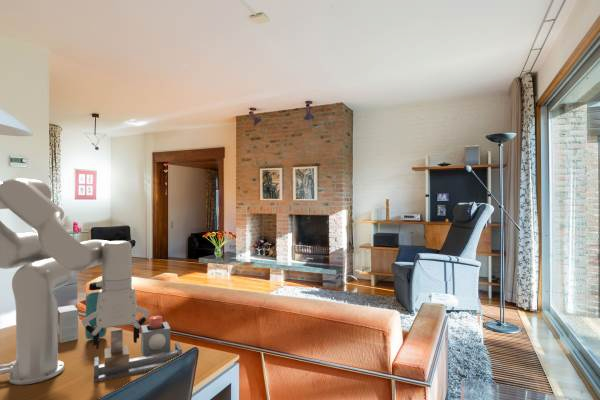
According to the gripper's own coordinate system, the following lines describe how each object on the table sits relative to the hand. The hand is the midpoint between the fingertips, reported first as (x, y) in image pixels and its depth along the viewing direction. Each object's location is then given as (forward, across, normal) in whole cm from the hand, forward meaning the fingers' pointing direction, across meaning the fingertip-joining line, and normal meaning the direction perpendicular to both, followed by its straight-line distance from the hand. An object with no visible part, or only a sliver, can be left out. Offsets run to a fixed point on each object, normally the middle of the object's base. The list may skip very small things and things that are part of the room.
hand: (116, 344), depth 102 cm
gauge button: (0, +12, +9) cm, 15 cm away
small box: (+8, -14, +36) cm, 40 cm away
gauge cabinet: (+8, +12, +9) cm, 17 cm away
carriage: (+5, 0, 0) cm, 5 cm away
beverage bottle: (+8, -6, +29) cm, 31 cm away
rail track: (+8, +6, 0) cm, 10 cm away
